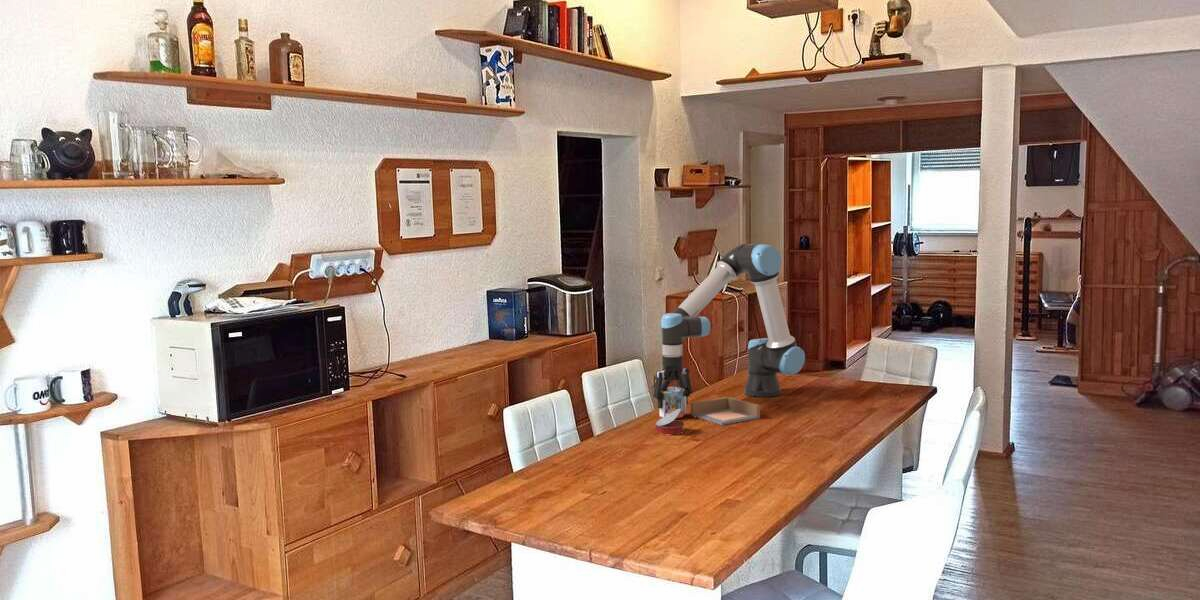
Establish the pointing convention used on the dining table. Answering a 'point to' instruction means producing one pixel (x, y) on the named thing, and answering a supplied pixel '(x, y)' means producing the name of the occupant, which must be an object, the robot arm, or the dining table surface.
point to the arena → (725, 410)
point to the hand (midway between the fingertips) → (673, 414)
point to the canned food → (670, 424)
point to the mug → (673, 400)
